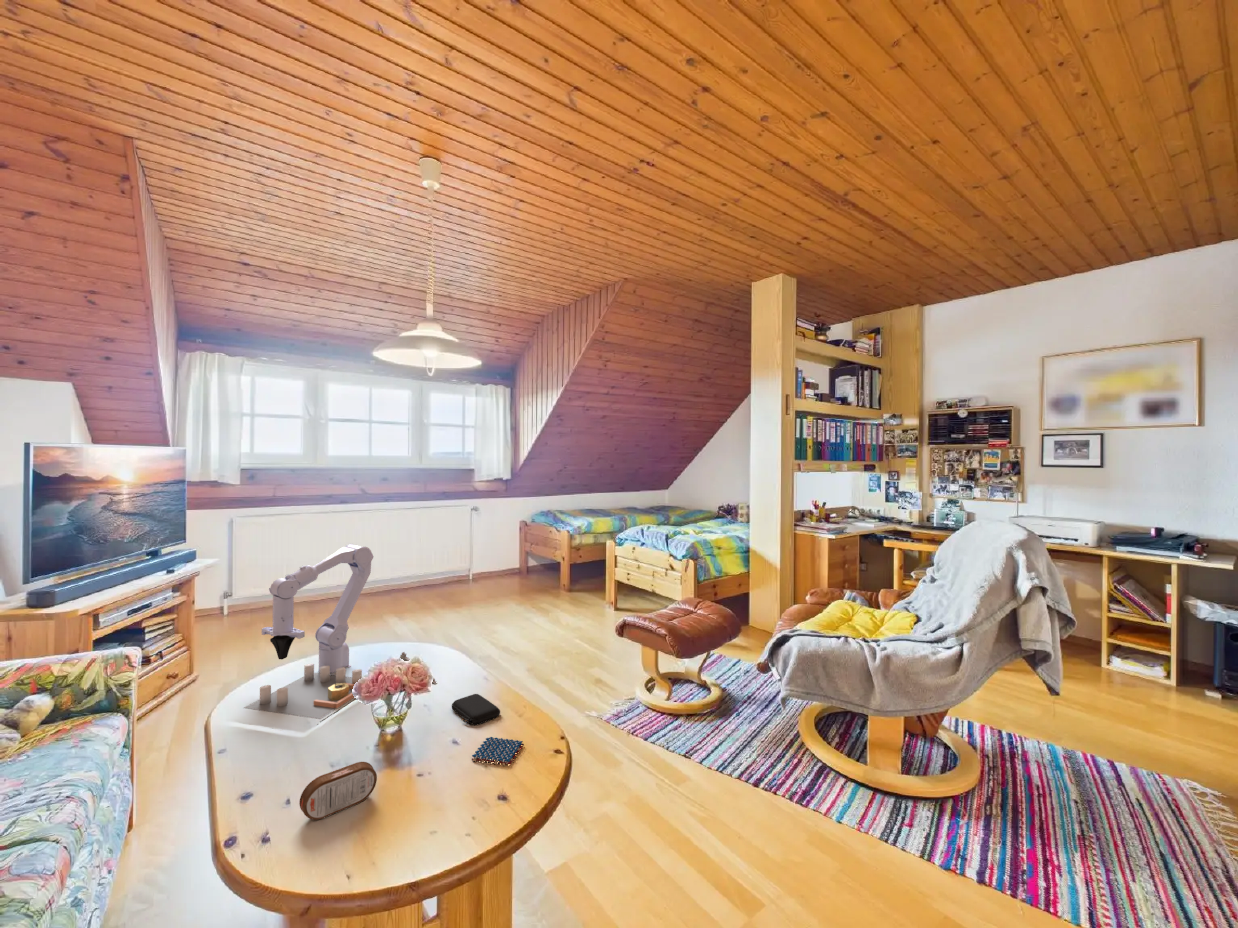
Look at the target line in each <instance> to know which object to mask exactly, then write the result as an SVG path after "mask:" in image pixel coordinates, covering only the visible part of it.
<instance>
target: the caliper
mask: <svg viewBox="0 0 1238 928" xmlns="http://www.w3.org/2000/svg"><path fill="white" fill-rule="evenodd" d="M400 658H401V659H403V660H404V661H409V660H410V659H411V658H409V657H408V656H407V653H406V652H405V651H403V652H401V654H400V656H399V659H400ZM436 682H437V681H436V679H435V677H433V683H434V685H436V684H437V683H436ZM433 683H432V684H433ZM435 683H436V684H435Z"/></svg>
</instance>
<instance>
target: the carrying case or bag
mask: <svg viewBox="0 0 1238 928" xmlns="http://www.w3.org/2000/svg"><path fill="white" fill-rule="evenodd" d="M451 709H452V711H454V712H455V713H456V714H457V715H459V716H460V717H461V720H462V722H466V723H468V724H471V725H474V726H476V725H477V724H478V725H480V723H481V724H483V723H485V721H486V722H489V721H491V720H493V718H494V719H496V717H497V718H498V717H499V716H500V715H501V710H500V708H499V707H498V706H496V705H495V704H494V703H492V702H491V701H489V700H488V699H487V698H485V697H484V696H482V695H480V694H479V693H473V694H470V695H467V696H464V697H461V698H458V699H456V700H454V701H453V703H452V704H451ZM490 719H491V720H490ZM488 720H489V721H488Z"/></svg>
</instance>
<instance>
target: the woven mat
mask: <svg viewBox="0 0 1238 928" xmlns="http://www.w3.org/2000/svg"><path fill="white" fill-rule="evenodd" d="M508 745H509V746H508ZM521 745H523V746H521ZM524 745H525V744H524V743H523V740H518V739H514V740H513V739H509V738H503V737H501V738H500V737H495V736H494V737H493V736H489V737H486V738H485V740H483V741H482V744H480V747H478V748H477V750H476V751H475V752H474V754H472V755H471V757H472V758H471V761H472V762H473V761H475V762H479V761H481V763H482V762H484V761H485V762H487V761H488V762H489V763H491V762H494V763H493V765H494V764H497V762H498V761H499V762H498V763H499V764H500V763H502V764H501V765H502V766H503V765H505V764H506V765H508V764H511V765H512V764H513V761H514V762H515V760H516V758H517V756H518V754H519V753H520V752H521V751H520V748H521V749H523V748H524ZM522 747H523V748H522ZM519 751H520V752H519ZM518 752H519V753H518ZM515 753H518V754H515ZM515 755H517V756H515ZM515 757H516V758H515ZM490 759H491V760H490ZM513 759H514V760H513ZM494 760H495V761H494ZM497 765H498V764H497ZM506 765H505V766H506Z"/></svg>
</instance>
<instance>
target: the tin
mask: <svg viewBox="0 0 1238 928" xmlns="http://www.w3.org/2000/svg"><path fill="white" fill-rule="evenodd" d="M377 781H378V775H377V772H376V770H375V769H374V767H373V765H372V764H371V763H369V762H367V761H358V762H355V763H352V764H348V765H346V766H344V767H341V768H338V769H335V770H333V771H329V772H327V773H324V774H322V775H319V776H318V777H315V778H314V779H313V780H311V781H310V782H309V783H308V784H307V785H306V786H305V788H304V789H303V791H302V792H301V794H300V797H299V804H298V805H299V809H300V810H301V812H302V813H303V814H304V816H305V817H306V818H308V819H309V820H316V821H317V820H322V819H324V817H325V818H327V817H329V815H330V816H332V815H334V813H335V814H336V812H337V813H339V812H341V811H344V810H346V808H347V809H349V808H351V807H353V806H356V805H358V803H359V804H360V803H362V802H364V801H365V800H366V799H368V798H369V797H370V796H371V794H372V793H373V791H374V790H375V788H376V785H377Z"/></svg>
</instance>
